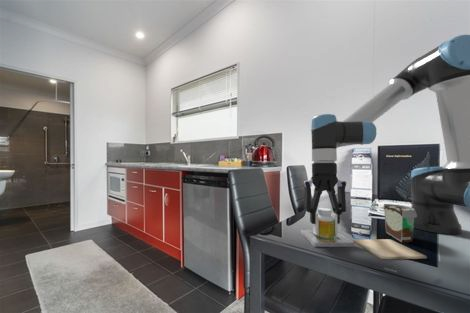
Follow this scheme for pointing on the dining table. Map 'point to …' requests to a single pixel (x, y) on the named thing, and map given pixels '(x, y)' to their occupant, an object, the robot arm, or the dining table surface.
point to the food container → (399, 221)
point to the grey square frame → (338, 242)
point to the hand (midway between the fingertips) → (325, 233)
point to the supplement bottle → (325, 224)
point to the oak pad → (388, 249)
